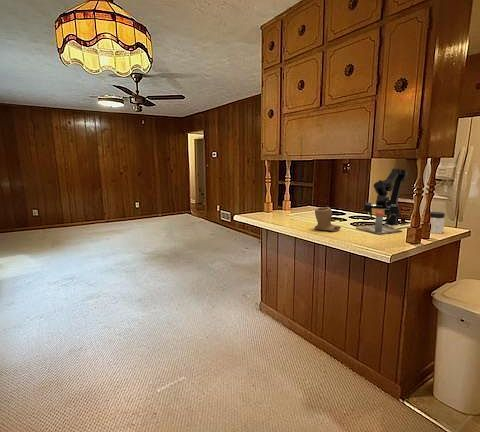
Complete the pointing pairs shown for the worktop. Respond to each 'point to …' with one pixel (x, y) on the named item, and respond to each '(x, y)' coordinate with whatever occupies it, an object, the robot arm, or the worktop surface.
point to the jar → (437, 222)
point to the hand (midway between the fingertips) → (379, 218)
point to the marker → (378, 221)
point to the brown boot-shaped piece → (325, 219)
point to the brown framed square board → (384, 231)
